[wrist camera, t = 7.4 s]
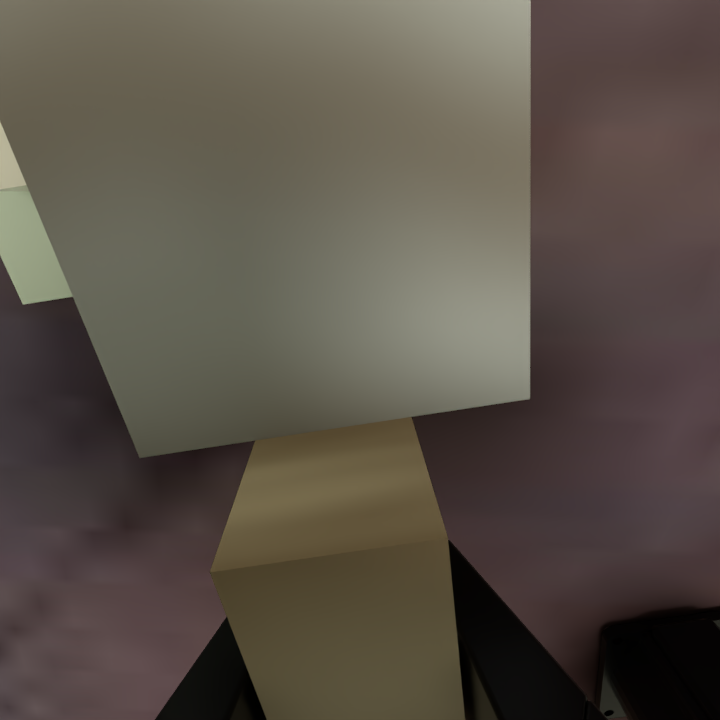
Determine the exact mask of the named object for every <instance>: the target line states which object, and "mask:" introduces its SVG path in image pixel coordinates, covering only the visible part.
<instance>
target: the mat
mask: <svg viewBox="0 0 720 720" xmlns="http://www.w3.org/2000/svg"><path fill="white" fill-rule="evenodd" d="M0 256H1V258H2V260H3V263H4V265H5V267H6V269H7V271H8V273H9V275H10V278H11V280H12V282H13V284H14V286H15V288H16V291H17V293H18V295H19V297H20V299H21V301H22V304H30V303H36V302H42V301H49V300H55V299H61V298H67V297H73V296H72V293H71V291H70V289H69V286H68V284H67V281H66V279H65V277H64V274H63V272H62V269H61V267H60V265H59V262H58V260H57V257H56V255H55V252H54V250H53V248H52V245H51V243H50V240H49V238H48V236H47V233H46V231H45V228H44V226H43V224H42V221H41V219H40V216H39V214H38V211H37V209H36V207H35V204H34V202H33V199H32V197H31V195H30V192H29V191H1V192H0Z"/></svg>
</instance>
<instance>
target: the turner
mask: <svg viewBox="0 0 720 720" xmlns="http://www.w3.org/2000/svg"><path fill="white" fill-rule="evenodd" d="M530 31H531V0H0V122H1V125H2V127H3V129H4V132H5V134H6V137H7V139H8V141H9V144H10V146H11V149H12V151H13V154H14V156H15V158H16V161H17V163H18V166H19V168H20V170H21V173H22V175H23V178H24V180H25V182H26V185H27V187H28V190H29V192H30V195H31V197H32V199H33V202H34V204H35V207H36V209H37V211H38V214H39V216H40V219H41V221H42V224H43V226H44V228H45V231H46V233H47V236H48V238H49V240H50V243H51V245H52V248H53V250H54V252H55V255H56V257H57V260H58V262H59V265H60V267H61V269H62V272H63V274H64V277H65V279H66V281H67V284H68V286H69V289H70V291H71V293H72V296H73V298H74V301H75V303H76V306H77V308H78V310H79V313H80V315H81V318H82V320H83V322H84V325H85V327H86V330H87V332H88V334H89V337H90V339H91V342H92V344H93V347H94V349H95V351H96V354H97V356H98V359H99V361H100V363H101V366H102V368H103V371H104V373H105V376H106V378H107V380H108V383H109V385H110V388H111V390H112V392H113V395H114V397H115V400H116V402H117V404H118V407H119V409H120V412H121V414H122V417H123V419H124V421H125V424H126V426H127V429H128V431H129V433H130V436H131V438H132V441H133V443H134V445H135V448H136V450H137V453H138V455H139V458H143V457H149V456H156V455H163V454H169V453H176V452H182V451H189V450H196V449H202V448H209V447H215V446H222V445H229V444H235V443H242V442H249V441H255V443H254V446H253V448H252V451H251V454H250V457H249V460H248V463H247V466H246V469H245V472H244V474H243V477H242V480H241V483H240V486H239V489H238V492H237V495H236V498H235V501H234V503H233V506H232V509H231V512H230V515H229V518H228V521H227V524H226V527H225V530H224V532H223V535H222V538H221V541H220V544H219V547H218V550H217V553H216V556H215V559H214V561H213V564H212V567H211V570H210V574H211V577H212V579H213V582H214V585H215V587H216V590H217V592H218V595H219V597H220V600H221V603H222V605H223V608H224V610H225V613H226V616H227V618H228V621H229V623H230V626H231V628H232V631H233V634H234V636H235V639H236V641H237V644H238V647H239V649H240V652H241V654H242V657H243V659H244V662H245V665H246V667H247V670H248V672H249V675H250V678H251V680H252V683H253V685H254V688H255V691H256V693H257V696H258V698H259V701H260V703H261V706H262V709H263V711H264V714H265V716H266V719H267V720H465V714H464V703H463V693H462V682H461V672H460V661H459V650H458V640H457V629H456V619H455V608H454V597H453V587H452V576H451V566H450V555H449V544H448V537H447V533H446V530H445V527H444V523H443V520H442V517H441V513H440V510H439V507H438V503H437V500H436V497H435V493H434V490H433V487H432V484H431V480H430V477H429V474H428V470H427V467H426V464H425V460H424V457H423V454H422V450H421V447H420V444H419V440H418V437H417V434H416V431H415V427H414V424H413V421H412V417H414V416H420V415H427V414H434V413H440V412H447V411H454V410H460V409H467V408H473V407H480V406H487V405H493V404H500V403H506V402H513V401H520V400H526V399H530Z"/></svg>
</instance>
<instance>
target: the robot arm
mask: <svg viewBox="0 0 720 720" xmlns="http://www.w3.org/2000/svg"><path fill="white" fill-rule="evenodd" d="M448 544H449V555H450V566H451V576H452V587H453V597H454V608H455V619H456V629H457V640H458V650H459V661H460V672H461V682H462V693H463V703H464V714H465V719H466V720H608V719H611V718H618V717H626V716H627V718H628V720H720V611H715V612H708V613H701V614H694V615H686V616H679V617H672V618H665V619H658V620H651V621H644V622H637V623H630V624H623V625H615V626H611V627H608V628H606V629H605V630H604V631H603V633H602V638H601V648H600V658H599V669H598V679H597V689H596V699H595V704H594V703H593V702H592V701H587V696H586V694H585V693H584V692H583V691H582V690H581V689H580V688H579V686H578V685H577V684H576V683H575V682H574V681H573V680H572V678H571V677H570V676H569V675H568V674H567V673H566V672H565V671H564V669H563V668H562V667H561V666H560V665H559V664H558V663H557V661H556V660H555V659H554V658H553V657H552V656H551V655H550V654H549V652H548V651H547V650H546V649H545V648H544V647H543V646H542V644H541V643H540V642H539V641H538V640H537V639H536V638H535V636H534V635H533V634H532V633H531V632H530V631H529V630H528V629H527V627H526V626H525V625H524V624H523V623H522V622H521V621H520V619H519V618H518V617H517V616H516V615H515V614H514V613H513V612H512V610H511V609H510V608H509V607H508V606H507V605H506V604H505V602H504V601H503V600H502V599H501V598H500V597H499V596H498V595H497V593H496V592H495V591H494V590H493V589H492V588H491V587H490V585H489V584H488V583H487V582H486V581H485V580H484V579H483V578H482V576H481V575H480V574H479V573H478V572H477V571H476V570H475V568H474V567H473V566H472V565H471V564H470V563H469V562H468V561H467V559H466V558H465V557H464V556H463V555H462V554H461V553H460V551H459V550H458V549H457V548H456V547H455V546H454V545H453V544H452V542H451V541H449V540H448ZM155 720H267V719H266V716H265V714H264V711H263V709H262V706H261V703H260V701H259V698H258V696H257V693H256V691H255V688H254V685H253V683H252V680H251V678H250V675H249V672H248V670H247V667H246V665H245V662H244V659H243V657H242V654H241V652H240V649H239V647H238V644H237V641H236V639H235V636H234V634H233V631H232V628H231V626H230V623H229V621H228V618H227V617H226V619H225V620H224V622H223V623H222V624H221V626H220V627H219V629H218V630H217V632H216V633H215V634H214V636H213V637H212V639H211V640H210V642H209V643H208V644H207V646H206V647H205V649H204V650H203V652H202V653H201V654H200V656H199V657H198V659H197V660H196V662H195V663H194V664H193V666H192V667H191V669H190V670H189V672H188V673H187V675H186V676H185V677H184V679H183V680H182V682H181V683H180V685H179V686H178V687H177V689H176V690H175V692H174V693H173V695H172V696H171V697H170V699H169V700H168V702H167V703H166V705H165V706H164V707H163V709H162V710H161V712H160V713H159V715H158V716H157V717H156V719H155Z"/></svg>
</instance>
